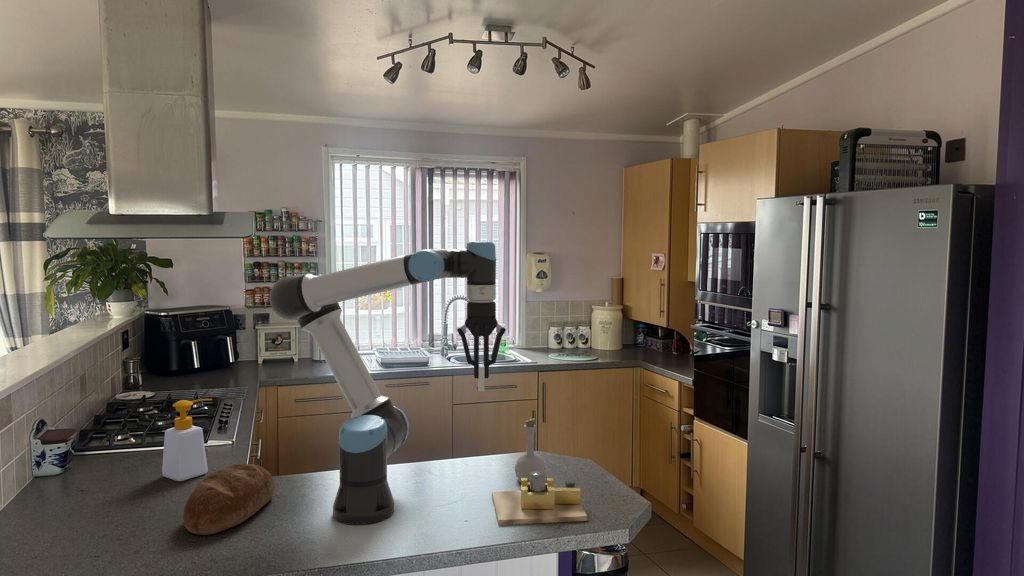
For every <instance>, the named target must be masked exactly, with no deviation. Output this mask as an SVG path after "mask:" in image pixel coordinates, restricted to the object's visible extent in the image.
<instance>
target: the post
mask: <svg viewBox="0 0 1024 576" xmlns="http://www.w3.org/2000/svg"><path fill="white" fill-rule="evenodd" d="M545 483H546V473H544V472H542V471H533V472H531V473H530V492H543V493H545Z"/></svg>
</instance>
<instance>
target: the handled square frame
mask: <svg viewBox="0 0 1024 576" xmlns="http://www.w3.org/2000/svg"><path fill="white" fill-rule="evenodd" d="M520 484H521V485H520V489H521V490H520V491H521V509H555V504H581V505H582V503H581V500H582V499H581V497H582V496H581V493H582V492H581V487H575V488H565V487H555V486H554V478H553V477H547V478H546V482H545V493H543V492H530V483H529V482H527V478H521V482H520Z"/></svg>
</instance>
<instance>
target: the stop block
mask: <svg viewBox="0 0 1024 576" xmlns="http://www.w3.org/2000/svg"><path fill="white" fill-rule="evenodd" d="M575 484H576V483H575V482H574V480H565V487H564V488H576V487H575V486H576V485H575Z"/></svg>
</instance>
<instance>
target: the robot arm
mask: <svg viewBox="0 0 1024 576" xmlns="http://www.w3.org/2000/svg"><path fill="white" fill-rule="evenodd" d="M496 273H497V255H496V245H495V243H494V242H493V241H468V242H467V243H466V247H465V248H437V247H436V248H434V247H433V248H425V249H420V250H417V251H416V252H413V253H412V252H411V253H409V254H404V255H399V256H396V257H391V258H387V259H383V260H379V261H375V262H370V263H366V264H362V265H359V266H353V267H351V268H350V267H349V268H346V269H342V270H336V271H334V272H329V273H325V274H321V273H315V272H311V273H305V274H296V275H287V276H285V277H283V278H280V279H279V280H277V281H276V282H275V284H273V285H272V287H271V289H270V292H269V304H270V307H271V309H272V310H273V311H274V313H275V314H276V315H277V316H278V317H280V318H282V319H283V320H287V321H297V322H298V323H297V324H298V325H299V326H300V327H301V330H302V331H304V332H307V333H309V334H311V336H312V338H313V341H314V342H315V344H316V345H317V347H318V350H319V351H320V353H321V355H322V357H323V359H324V360H325V362H326V364H327V366H328V368H329V370H330V371H331V373H332V375H333V377H334V379H335V381H336V383H337V384H338V387H339V389H340V391H341V392H342V394H343V396H344V397H345V399H346V401H347V403H348V405H349V406H350V408H351V411H352V412H351V416H350V418H348V419H346V420H345V421H344V422H343V423H342V424H341V425H340V427H339V429H338V430H339V431H338V434H339V435H338V437H337V438H338V440H337V441H338V452H339V453H338V456H339V457H338V459H339V460H338V461H339V463H338V464H339V485H338V489H337V492H336V495H335V498H334V501H333V504H332V517H333V519H335V520H336V521H337V522H339V523H342V524H346V525H358V526H359V525H369V524H374V523H378V522H380V521H384V520H386V519H388V518H389V517H391V516H392V515H393V514H394V512H395V499H394V497H393V493H392V491H391V488H390V485H389V482H388V459H389V457H391V455H392V454H394V453H395V452H396V451H398V450H400V448H401V447H402V446H403V445H404V443H405V442H406V440H407V438H408V435H409V432H410V423H409V420H408V419H409V418H408V417H407V415H406V414H405V412H404V411H403V410H402V409H400V408H398V407H396V406H394V405H393V402H392V401H391V399H390V397H388V396H384V395H382V394H381V392H380V390H379V388H378V387H377V385H376V382H375V381H374V379H373V377H372V376H371V374H370V372H369V370H368V368H367V366H366V364H365V363H364V362H365V361H363V359H362V357H361V355H360V353H359V351H358V350H357V348H356V345H355V344H354V342H353V340H352V339H351V336H350V334H349V333H348V331H347V329H346V328H345V325H344V324H343V322H342V319H341V315H342V312H343V310H342V307H341V306H340V303H341V302H346V301H350V300H354V299H358V298H362V297H367V296H370V295H371V296H372V295H374V294H375V295H376V294H380V293H384V292H387V291H392V290H397V289H401V288H405V287H409V286H413V285H418V284H422V283H427V282H432V281H435V280H439V279H447V278H449V279H450V278H453V279H454V278H455V279H456V278H459V279H460V278H461V279H464V278H466V299H467V300H468V301H467V303H466V319H465V322H464V324H462V325H461V326H457V328H456V332H457V333H458V335H459V336H460V338H461V342H462V347H463V351H464V354H465V358H466V359H465V360H466V362H467V364H468V365H471V366H473V377H474V379H477V390H478V391H477V392H479V393H480V392H483V393H484V392H485V379H489V377H490V375H489V374H490V372H489V371H490V370H489V369H490V368H489V367H490V366H491V365H494V364H496V362H497V359H498V354H499V350H500V346H501V341H502V338H503V337H504V334H505V333H506V331H507V330H506V327H505V326H502V325H500V324H499V323H498V320H497V316H496V315H497V307H496V306H497V304H496V301H494V300H497V295H496V294H497V291H496V289H497V287H496V286H497V282H496V281H497V278H496V275H497V274H496ZM495 329H496V330H495ZM467 330H468V331H469V332H470V334H471V335H472V336H473V359H472V357H471V352H470V347H469V343H468V340H467V336H466V334H467ZM494 330H495V332H496V336H495V340H494V342H493V343H494V345H493V348H492V352H491V355H490V336H491V334H492V333H493V332H494ZM480 337H483V364H480Z"/></svg>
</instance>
